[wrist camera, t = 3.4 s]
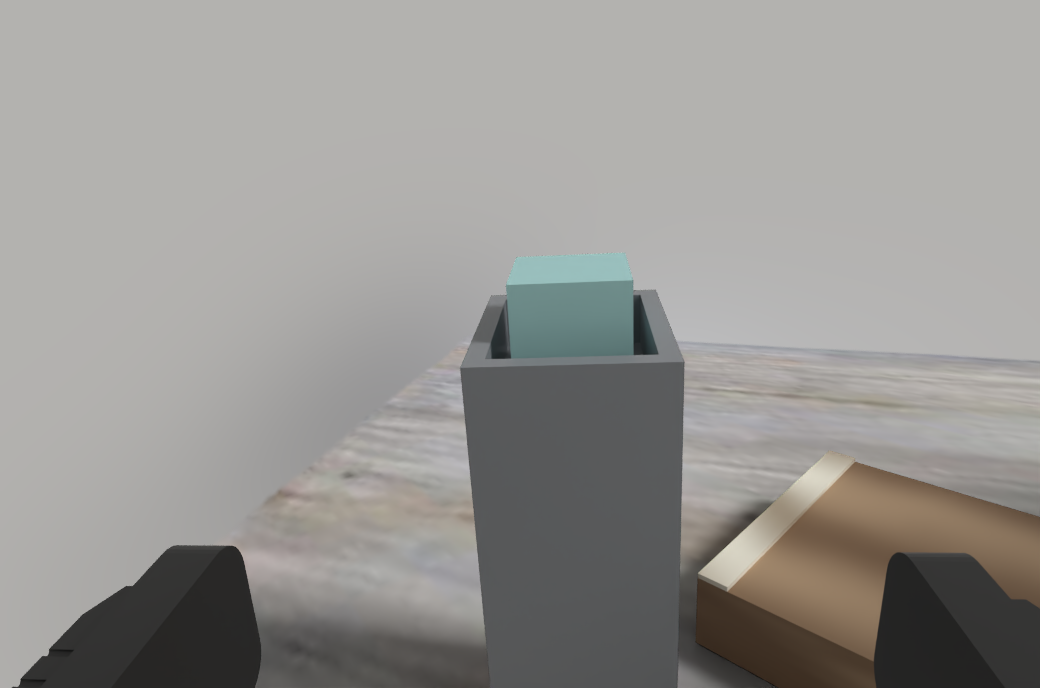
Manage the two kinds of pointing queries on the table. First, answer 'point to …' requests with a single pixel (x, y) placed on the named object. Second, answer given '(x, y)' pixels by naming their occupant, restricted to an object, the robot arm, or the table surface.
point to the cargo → (570, 306)
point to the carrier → (578, 506)
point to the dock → (845, 569)
